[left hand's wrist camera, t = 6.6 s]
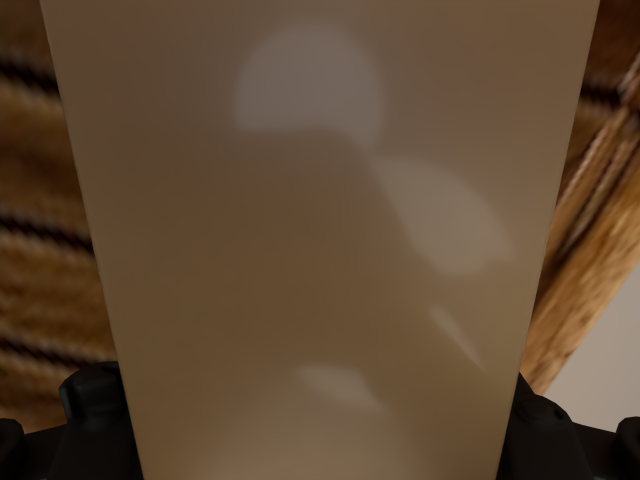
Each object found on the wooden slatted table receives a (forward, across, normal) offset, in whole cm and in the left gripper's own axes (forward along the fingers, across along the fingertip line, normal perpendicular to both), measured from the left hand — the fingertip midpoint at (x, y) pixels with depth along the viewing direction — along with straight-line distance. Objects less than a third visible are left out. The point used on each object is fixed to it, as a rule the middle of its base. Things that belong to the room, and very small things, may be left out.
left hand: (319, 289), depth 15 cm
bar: (+1, 0, -7) cm, 7 cm away
